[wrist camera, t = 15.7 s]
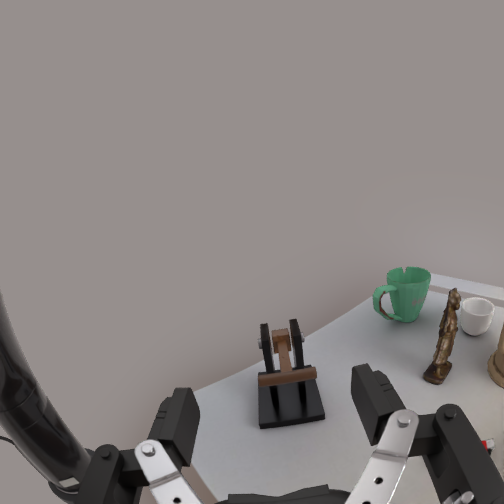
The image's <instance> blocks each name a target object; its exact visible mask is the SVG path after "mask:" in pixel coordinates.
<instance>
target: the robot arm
mask: <svg viewBox="0 0 504 504" xmlns="http://www.w3.org/2000/svg"><path fill="white" fill-rule="evenodd" d="M351 395H352V399H353V402H354V404H355V406H356V409H357V411H358V414H359V416H360V419H361V421H362V424H363V426H364V429H365V431H366V434H367V437H368V439H369V442H370V444H371V446H373V445H376V444H378V445H377V448H376V450H375V451H374V452H373V454H372V455H371V457H370V459H369V461H368V463H367V465H366V467H365V469H364V471H363V473H362V475H361V477H360V478H359V480H358V482H357V484H356V485H355V487H354V489H353V490H352V492H351V493H350V492H347V491H342V490H335V489H329V488H328V484H326V485H321V486H316V487H310V488H304V489H301V490H298V491H295V492H292V493H289V494H286V495H283V496H279V497H274V496H265V495H258V494H228V500H224V501H221V502H218V503H215V504H388V503H389V501H390V499H391V497H392V495H393V493H394V491H395V489H396V486H397V484H398V482H399V479H400V477H401V475H402V472H403V470H404V467H405V464H406V462H407V459H408V458H407V457H413V456H421V455H422V457H423V459H424V462H425V464H426V467H427V469H428V472H429V474H430V477H431V479H432V482H433V484H434V487H435V490H436V492H437V495H438V498H439V501H440V504H504V481H503V479H502V477H501V476H500V474H499V472H498V470H497V468H496V466H495V464H494V462H493V461H492V459H491V457H490V455H489V453H488V452H487V450H486V448H485V446H484V445H483V443H482V441H481V440H480V438H479V436H478V435H477V433H476V431H475V430H474V428H473V427H472V425H471V423H470V422H469V420H468V419H467V417H466V416H465V414H464V412H463V411H462V409H461V408H460V407H459V406H457V405H455V404H445V405H443V406H441V407H440V408H439V409H438V410H437V412H436V413H435V414H427V415H417V414H416V413H415V412H413V411H411V410H408V409H406V408H405V406H404V404H403V402H402V401H401V399H400V397H399V396H398V394H397V392H396V391H395V389H394V387H393V386H392V384H390V381H389V379H388V378H387V376H386V375H385V374H383V373H382V372H380V371H379V370H378V371H374V372H373V371H372V370H371V368H370V366H369V365H368V364H367V363H366V364H362V365H358V366H354V367H353V368H352V379H351ZM199 420H200V410H199V406H198V404H197V402H196V399H195V397H194V394H193V391H192V389H191V388H175V390H174V393H173V396H172V397H167V398H166V399H165V400H164V401H163V402H162V403H161V405H160V408H159V410H158V413H157V415H156V419H155V420H154V423H153V426H152V428H151V431H150V433H149V436H148V438H147V440H144V441H142V442H140V443H139V444H138V445H137V446H136V448H135V449H130V450H121V451H119V450H118V449H117V448H116V447H115V446H114V445H110V444H106V445H102V446H100V447H98V448H97V449H96V451H95V452H94V454H93V457H92V456H91V455H90V454H89V453H88V452H87V451H86V450H85V449H84V447H83V446H82V445H81V444H80V442H79V441H78V440H77V439H76V437H75V436H74V435H73V433H72V432H71V431H70V430H69V428H68V427H67V425H66V424H65V423H64V421H63V420H62V418H61V417H60V416H59V414H58V413H57V411H56V410H55V408H54V407H53V405H52V404H51V402H50V401H49V399H48V398H47V396H46V394H45V393H44V391H43V390H42V388H41V386H40V384H39V383H38V381H37V379H36V378H35V376H34V374H33V372H32V370H31V369H30V366H29V364H28V362H27V360H26V358H25V356H24V353H23V351H22V349H21V347H20V345H19V342H18V340H17V338H16V335H15V333H14V330H13V328H12V325H11V322H10V319H9V317H8V313H7V310H6V307H5V304H4V300H3V297H2V293H1V290H0V425H1V427H2V428H3V430H4V431H5V432H6V433H7V435H8V436H9V437H10V438H11V440H10V439H8V438H5V437H2V436H0V439H2V440H5V441H8V442H10V443H12V444H13V445H15V447H16V448H17V450H18V451H19V452H20V453H21V454H22V455H23V456H24V457H25V458H26V459H27V461H28V462H29V463H30V464H31V465H32V466H33V467H34V468H35V469H36V470H37V471H38V472H39V473H40V474H41V475H42V476H43V477H44V478H45V479H46V480H48V481H49V482H50V483H51V484H54V485H55V486H56V487H57V488H58V489H59V490H60V491H62V492H63V493H65V494H68V495H77V496H76V499H75V501H74V504H139V500H140V496H141V492H142V488H143V486H149V489H150V490H151V492H152V494H153V496H154V498H155V499H156V501H157V503H158V504H204V503H203V502H202V500H201V499H200V498H199V497H198V495H197V494H196V493H195V491H194V490H193V489H192V487H191V486H190V484H189V483H188V482H187V480H186V479H185V478H184V476H183V475H182V473H181V469H182V466H186V467H190V463H191V458H192V453H193V448H194V444H195V439H196V434H197V430H198V425H199Z"/></svg>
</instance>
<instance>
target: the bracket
mask: <svg viewBox="0 0 504 504" xmlns="http://www.w3.org/2000/svg"><path fill="white" fill-rule="evenodd" d="M289 321H290V329H291V338H292V347H293V356H294V365H295V367H294V368H292V371H293V370H299V369H305V368H310V367H312V366H311V365H306V366H304V360H303V349H302V342H304V334H303V332H300V329H299V326H298V322H297V319H292V320H289ZM260 326H261V327H260V329H261V338H260V339H258V344H259V348H260V349H263V355H264V361H265V366H266V372H259V373H258V376H259V375H265V374H273V373H280V372H281V370H275V367H274V360H273V354H272V348H271V342H270V336H269V329H268V324H267V323H266V324H261V325H260ZM258 389H259V426H260V429H266V428H275V427H283V426H290V425H296V424H302V423H308V422H314V421H319V420H324V419H325V412H324V409H323V405H322V402H321V398H320V394H319V391H318V387H317V384H316V380H315V379H311V380H305V381H300V382H294V383H287V384H281V385H273V386H266V387H259V383H258Z"/></svg>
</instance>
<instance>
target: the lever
mask: <svg viewBox="0 0 504 504" xmlns="http://www.w3.org/2000/svg"><path fill="white" fill-rule="evenodd" d="M272 340H273V347H274V352H275V353H279V361H280V369H281V372H280V373H273V374H265V375H259V376H258V383H259V387H266V386H273V385H281V384H287V383H294V382H300V381H305V380H311V379H316V378H317V372H316V368H315V367H310V368H305V369H299V370H293V371H292V367H291V362H290V358H289V353H288V351H291V344H290V336H289V332H288V329H287V328H286V329H279V330H273V331H272Z"/></svg>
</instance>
